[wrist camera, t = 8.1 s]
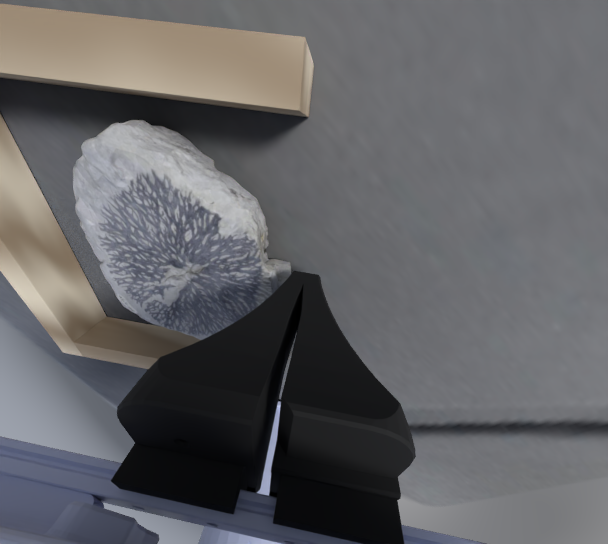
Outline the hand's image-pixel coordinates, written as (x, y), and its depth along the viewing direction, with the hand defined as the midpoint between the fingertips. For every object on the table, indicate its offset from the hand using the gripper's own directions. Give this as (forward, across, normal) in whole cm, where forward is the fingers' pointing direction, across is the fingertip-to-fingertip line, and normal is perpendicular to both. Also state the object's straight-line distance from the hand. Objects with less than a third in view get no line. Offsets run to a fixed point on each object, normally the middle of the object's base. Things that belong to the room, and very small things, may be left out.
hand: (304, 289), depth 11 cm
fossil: (+2, +6, 0) cm, 6 cm away
